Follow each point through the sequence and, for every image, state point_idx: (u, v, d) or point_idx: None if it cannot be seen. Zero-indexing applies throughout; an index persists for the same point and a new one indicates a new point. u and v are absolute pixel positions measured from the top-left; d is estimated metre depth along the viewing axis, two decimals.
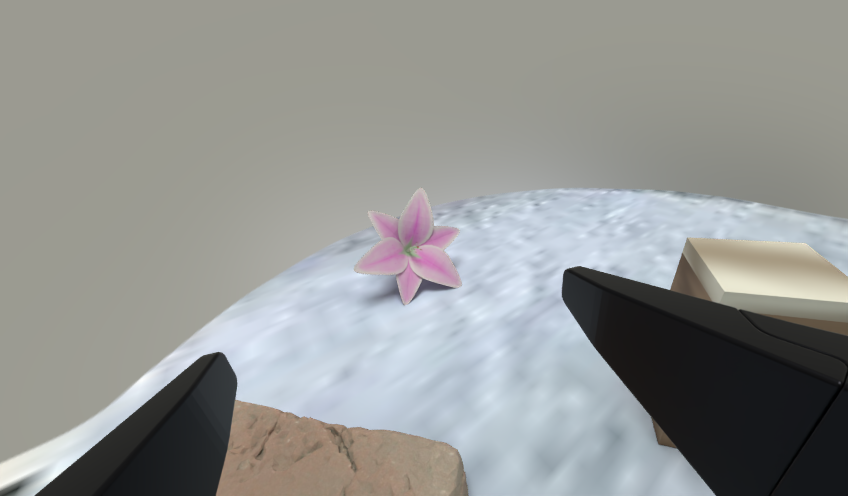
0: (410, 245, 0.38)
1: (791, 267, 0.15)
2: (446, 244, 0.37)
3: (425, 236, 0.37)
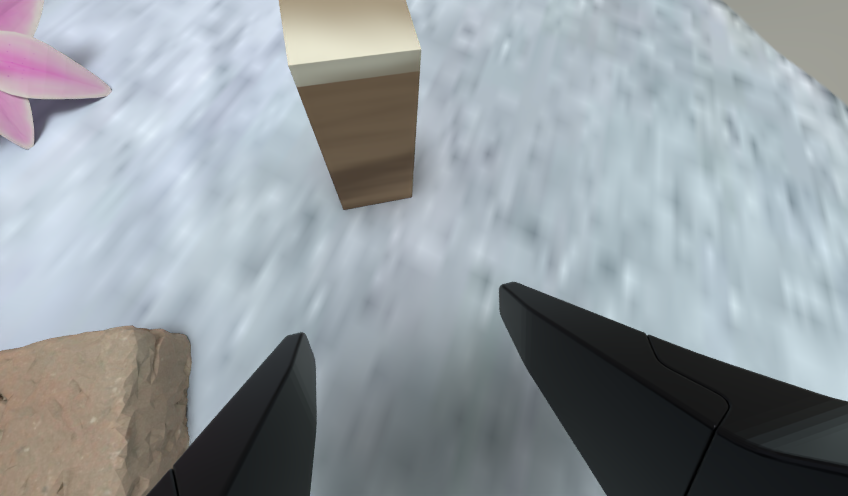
0: None
1: (366, 8, 0.13)
2: (31, 23, 0.22)
3: None
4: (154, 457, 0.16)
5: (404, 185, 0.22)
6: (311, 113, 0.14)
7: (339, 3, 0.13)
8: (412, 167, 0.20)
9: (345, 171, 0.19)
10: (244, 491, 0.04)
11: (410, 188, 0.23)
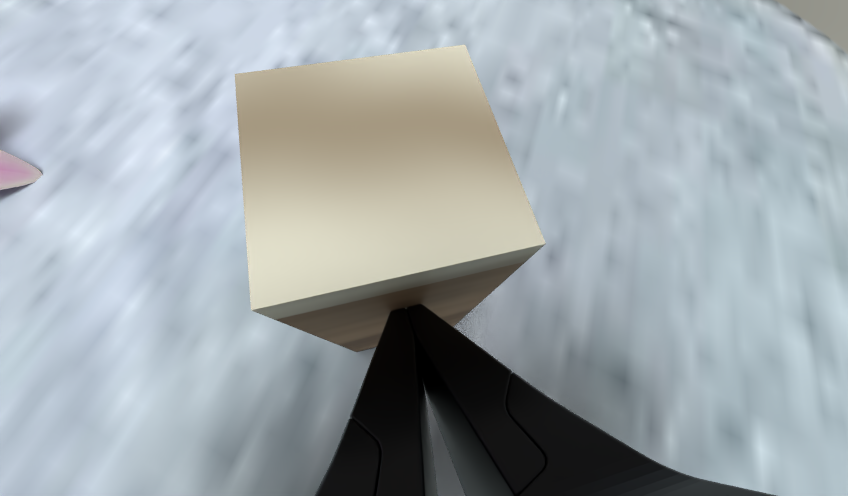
0: None
1: (420, 145, 0.06)
2: None
3: None
4: None
5: None
6: (307, 327, 0.07)
7: (364, 135, 0.06)
8: (463, 316, 0.13)
9: (362, 338, 0.12)
10: (423, 438, 0.05)
11: (452, 324, 0.16)
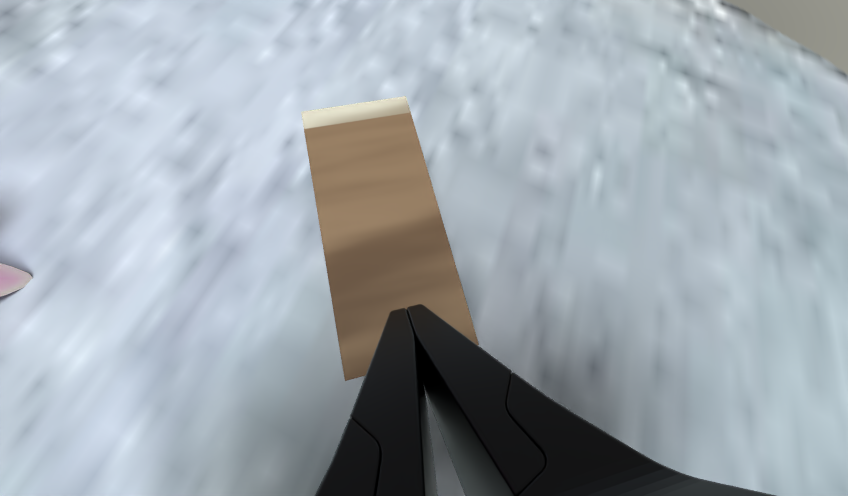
0: None
1: None
2: None
3: None
4: None
5: (451, 300, 0.13)
6: (312, 155, 0.14)
7: None
8: (449, 249, 0.13)
9: (346, 251, 0.13)
10: (423, 438, 0.05)
11: (465, 311, 0.12)
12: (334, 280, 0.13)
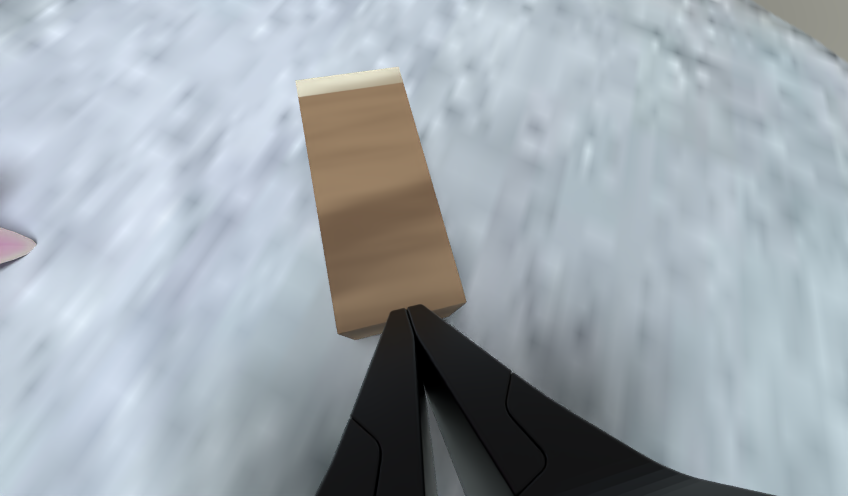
0: None
1: None
2: None
3: None
4: None
5: (440, 260, 0.13)
6: (306, 122, 0.15)
7: None
8: (439, 212, 0.14)
9: (340, 213, 0.13)
10: (423, 438, 0.05)
11: (454, 271, 0.13)
12: (327, 240, 0.13)
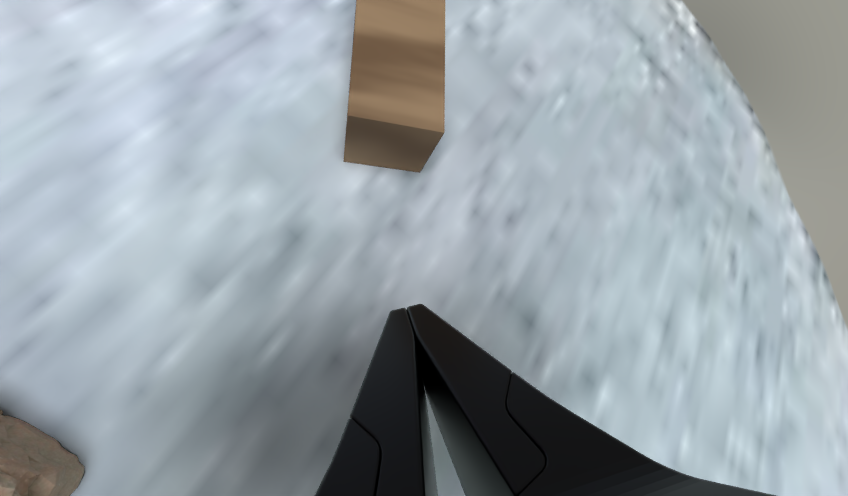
0: None
1: None
2: None
3: None
4: None
5: (434, 100, 0.17)
6: None
7: None
8: (443, 69, 0.18)
9: (371, 38, 0.17)
10: (423, 438, 0.05)
11: (442, 110, 0.17)
12: (357, 52, 0.17)
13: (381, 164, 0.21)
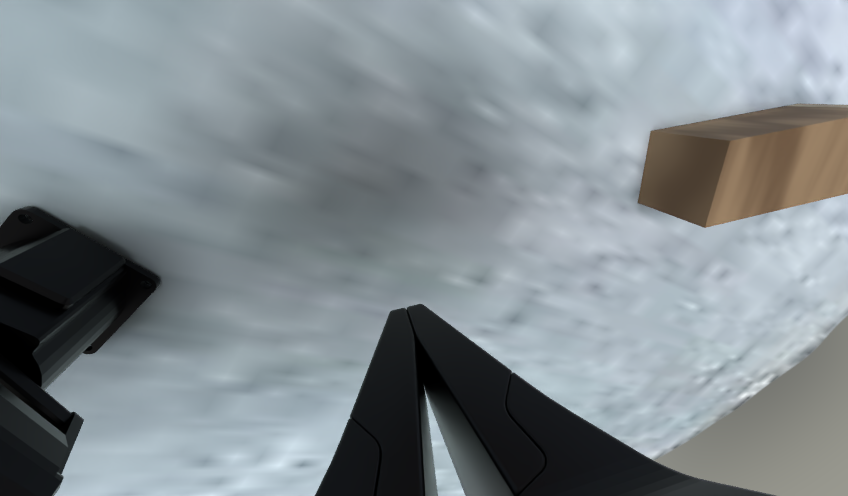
0: None
1: None
2: None
3: None
4: None
5: (733, 212, 0.19)
6: None
7: None
8: (759, 213, 0.20)
9: (796, 143, 0.18)
10: (423, 438, 0.05)
11: (723, 221, 0.19)
12: (785, 133, 0.18)
13: (648, 167, 0.22)
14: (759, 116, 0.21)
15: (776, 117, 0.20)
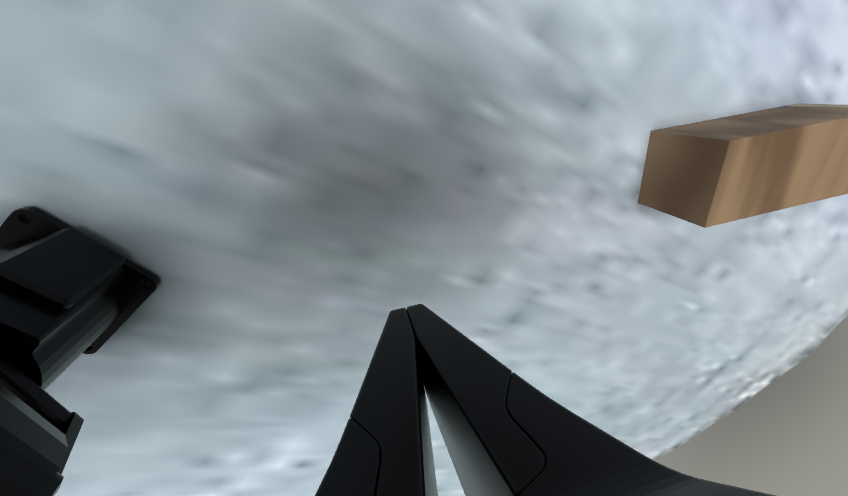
0: None
1: None
2: None
3: None
4: None
5: (733, 212, 0.19)
6: None
7: None
8: (759, 213, 0.20)
9: (796, 143, 0.18)
10: (423, 438, 0.05)
11: (723, 221, 0.19)
12: (785, 133, 0.18)
13: (648, 167, 0.22)
14: (759, 116, 0.21)
15: (776, 117, 0.20)
